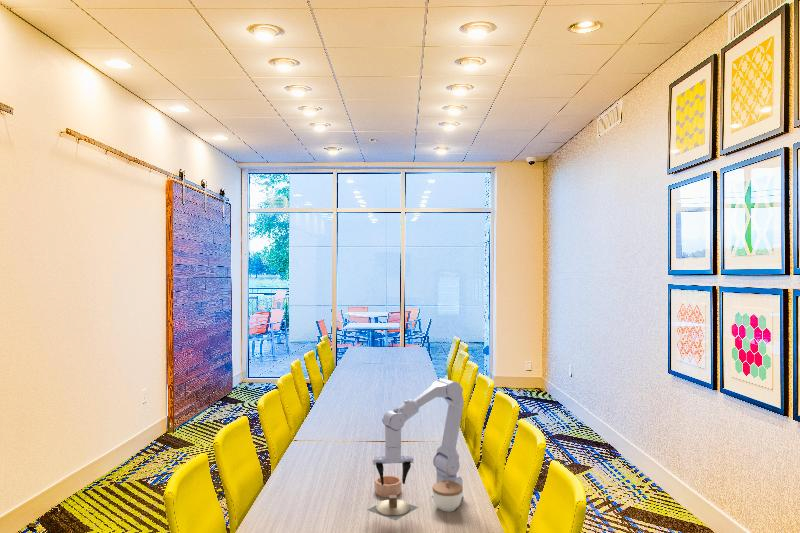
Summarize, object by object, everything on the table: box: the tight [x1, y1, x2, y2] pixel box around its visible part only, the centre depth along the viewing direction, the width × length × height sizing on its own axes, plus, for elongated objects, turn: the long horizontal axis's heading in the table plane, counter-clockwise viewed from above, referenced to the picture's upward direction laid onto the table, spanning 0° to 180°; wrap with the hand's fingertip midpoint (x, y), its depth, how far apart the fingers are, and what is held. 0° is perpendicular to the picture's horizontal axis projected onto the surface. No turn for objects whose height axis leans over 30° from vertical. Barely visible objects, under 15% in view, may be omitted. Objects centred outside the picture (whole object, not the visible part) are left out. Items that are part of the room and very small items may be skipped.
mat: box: [367, 498, 419, 521], centre depth 199 cm, size 13×13×1 cm
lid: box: [376, 495, 410, 516], centre depth 199 cm, size 12×12×4 cm
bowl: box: [374, 474, 403, 498], centre depth 215 cm, size 10×10×4 cm
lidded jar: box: [432, 481, 464, 513], centre depth 200 cm, size 11×11×9 cm
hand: (392, 483), depth 199 cm, fingers open, 7 cm apart
